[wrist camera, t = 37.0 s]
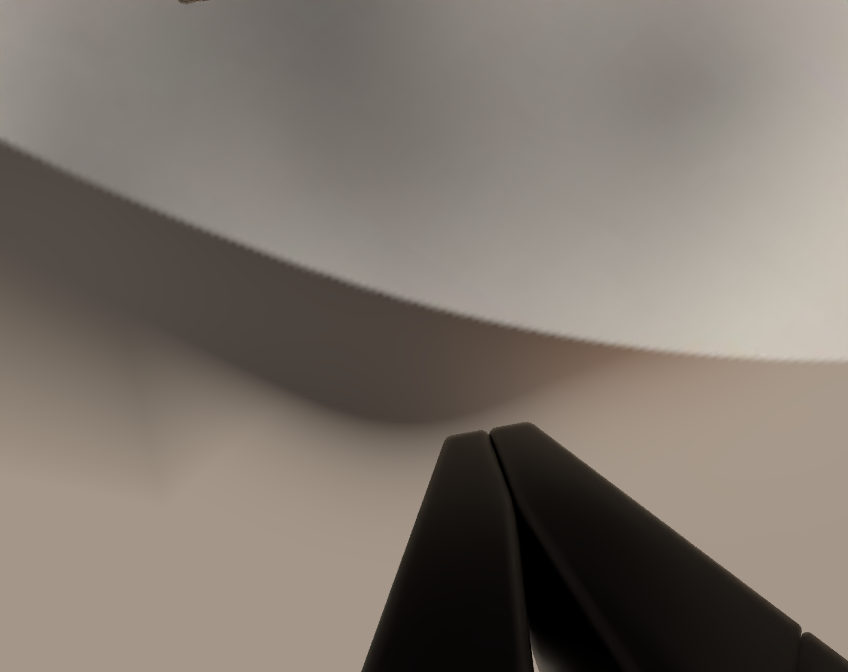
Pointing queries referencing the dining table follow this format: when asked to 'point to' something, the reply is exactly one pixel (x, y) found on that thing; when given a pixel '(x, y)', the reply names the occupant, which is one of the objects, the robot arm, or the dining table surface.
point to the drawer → (190, 1)
